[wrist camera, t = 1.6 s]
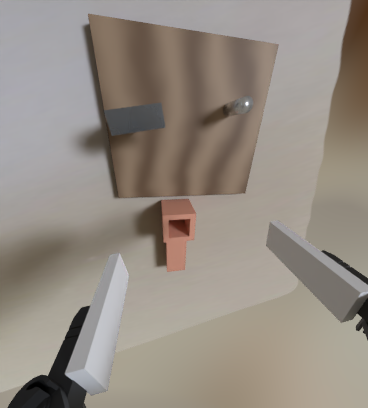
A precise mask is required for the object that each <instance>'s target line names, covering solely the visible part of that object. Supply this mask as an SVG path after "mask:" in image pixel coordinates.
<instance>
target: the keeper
mask: <svg viewBox="0 0 368 408" xmlns="http://www.w3.org/2000/svg"><path fill="white" fill-rule="evenodd" d="M103 111H104V114H105V117H106V120H107V123H108V126H109V129H110V132H111V135H112V136H115V135H124V134H130V133H136V132H141V131H147V130H154V129H160V128H166V127H165V121H164V116H163V110H162V104H161V103H154V104H147V105H139V106H132V107H125V108H118V109H110V110H103Z"/></svg>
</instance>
